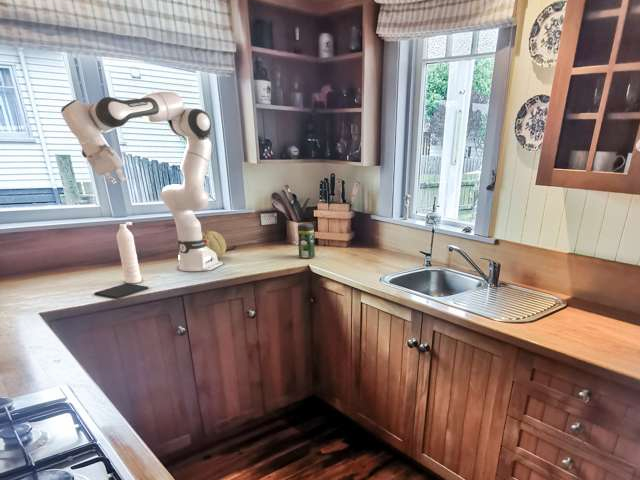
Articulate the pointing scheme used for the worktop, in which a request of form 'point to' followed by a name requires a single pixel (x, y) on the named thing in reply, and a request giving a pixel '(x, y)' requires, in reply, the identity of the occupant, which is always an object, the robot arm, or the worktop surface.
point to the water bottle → (128, 254)
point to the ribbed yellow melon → (215, 242)
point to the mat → (121, 290)
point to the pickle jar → (306, 240)
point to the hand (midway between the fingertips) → (118, 182)
